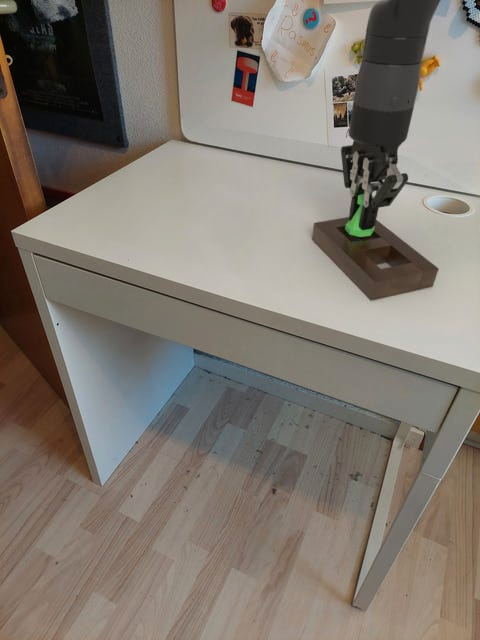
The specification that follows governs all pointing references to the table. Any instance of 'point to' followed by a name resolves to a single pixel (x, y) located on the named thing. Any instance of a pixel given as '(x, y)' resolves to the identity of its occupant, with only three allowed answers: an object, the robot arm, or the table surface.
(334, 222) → the socket pad
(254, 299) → the table surface
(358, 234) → the game piece
